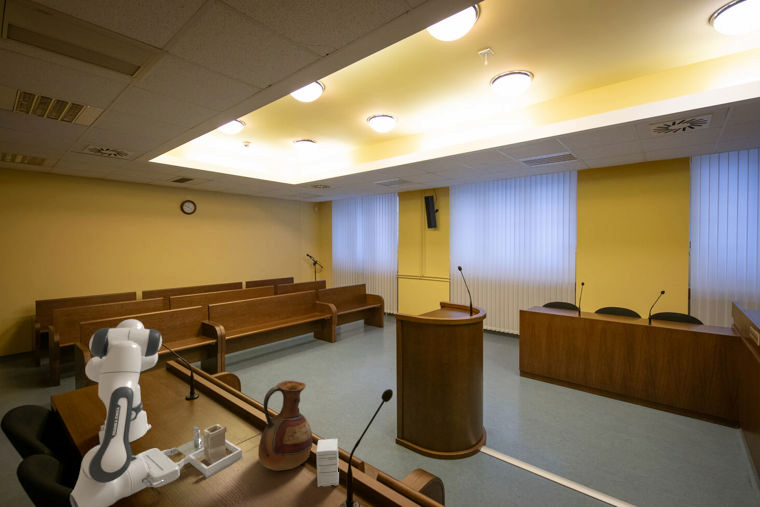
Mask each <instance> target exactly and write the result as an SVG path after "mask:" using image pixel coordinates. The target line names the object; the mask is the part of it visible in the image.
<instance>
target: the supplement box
mask: <svg viewBox="0 0 760 507" xmlns="http://www.w3.org/2000/svg"><path fill="white" fill-rule="evenodd" d="M317 440H318V441H317V445H316V475H317V476H316V478H317V479H316V480H317V482H316V483H317V487H318V488H319V487H320V486H323V487H332V486H331V485H334V486H339V482H340V481H339V479H340V471H339V472H338V466H340V465H339V441H338V438H328V439H317ZM320 488H321V487H320Z"/></svg>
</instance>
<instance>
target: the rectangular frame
mask: <svg viewBox="0 0 760 507" xmlns="http://www.w3.org/2000/svg"><path fill="white" fill-rule="evenodd" d="M225 445H226V449H227V450H229V451H230V452H232V453H231V454H228V455H226V457H225V458H223V459H221V460H219V461H217V462H216V463H214V464H212V465H211V464H210V465H209V466H207V465H206V464H204V463H203V462H201V461H200V460H199V458H201V457H202V458H203V457H204V448H202V449H200V450H198V451H196V452H194V453H192V454H190V455H188V458H189V462H188V463H190V464H191V465H192V466H193V467H195V468H196V469H197V470H199V471H200V472H201V473H202V474H201V475H202V476H203V477H204V478H205V479H208V478H210V477H212V476H214V475H215V474H217V473H219V472H221V471H222V470H224V469H226V468H228V467H229V466H231V465H233V464H235V463H236V462H235V461H237V460H238V461H240V460H241V459H240V458H242V459H243V449H242V448H240V447H239V446H237V445H236V444H234V443H232V442H230V441H228V440H227V439H226V438H225ZM239 459H240V460H239ZM238 461H237V462H238ZM234 462H235V463H234ZM232 463H233V464H232ZM227 466H228V467H227ZM225 467H226V468H225Z"/></svg>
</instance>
